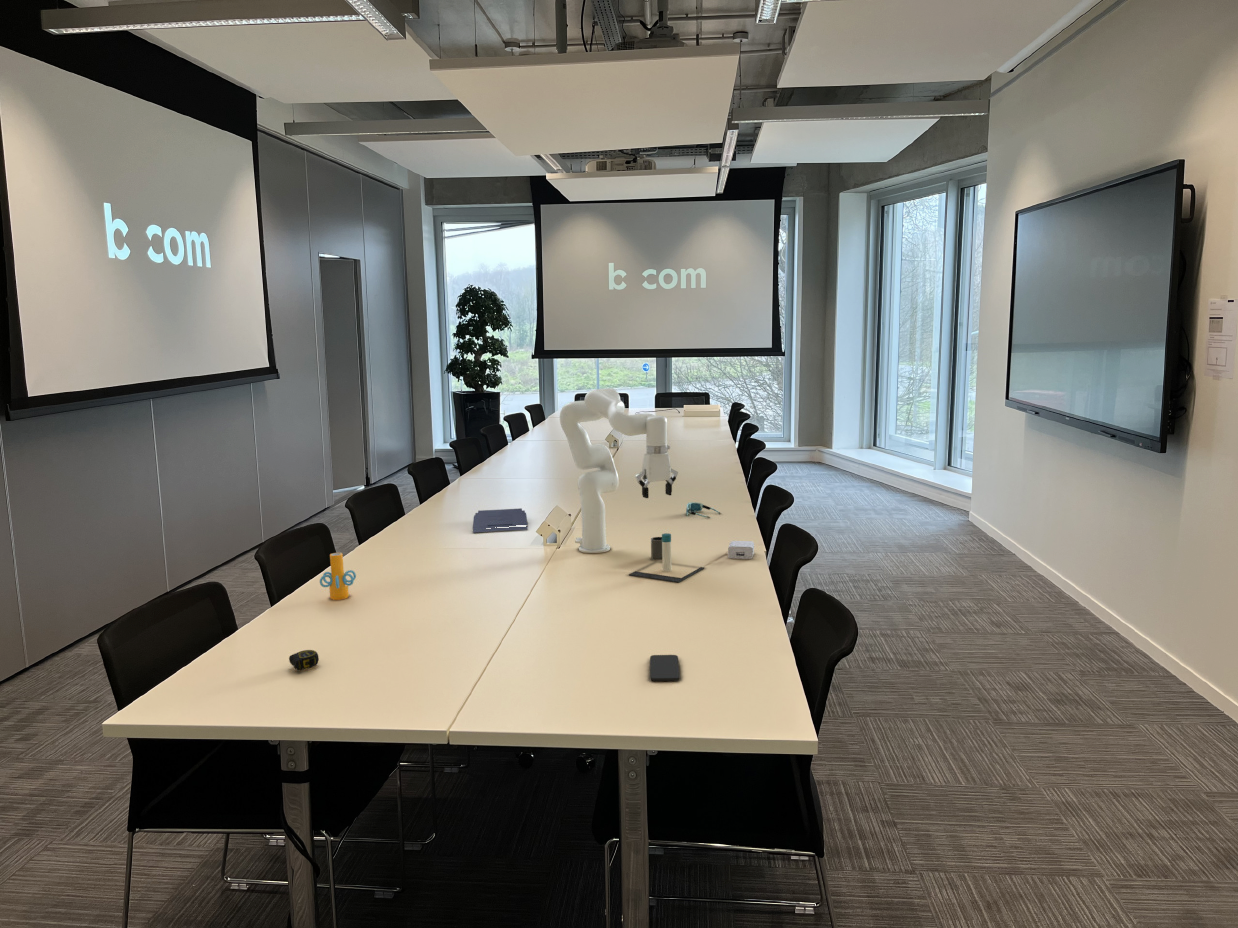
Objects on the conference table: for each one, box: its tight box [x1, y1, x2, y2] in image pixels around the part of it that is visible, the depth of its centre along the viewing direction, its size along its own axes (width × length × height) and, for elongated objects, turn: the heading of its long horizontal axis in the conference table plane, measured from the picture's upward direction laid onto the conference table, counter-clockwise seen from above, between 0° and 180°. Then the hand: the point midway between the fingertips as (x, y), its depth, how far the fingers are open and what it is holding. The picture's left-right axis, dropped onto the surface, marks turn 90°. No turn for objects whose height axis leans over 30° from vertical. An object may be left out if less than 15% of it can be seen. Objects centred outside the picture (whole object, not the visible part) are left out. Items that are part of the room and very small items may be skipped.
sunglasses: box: [685, 501, 722, 519], centre depth 399 cm, size 14×15×5 cm
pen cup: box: [650, 536, 662, 561], centre depth 323 cm, size 6×6×8 cm
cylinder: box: [319, 552, 357, 601], centre depth 285 cm, size 12×10×15 cm
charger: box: [727, 540, 755, 560], centre depth 328 cm, size 5×9×15 cm
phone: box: [649, 654, 681, 682], centre depth 218 cm, size 7×1×15 cm
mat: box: [628, 566, 705, 584], centre depth 306 cm, size 20×20×1 cm
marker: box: [661, 532, 672, 573], centre depth 305 cm, size 3×3×14 cm
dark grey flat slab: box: [472, 507, 529, 534], centre depth 389 cm, size 24×30×4 cm
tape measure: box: [288, 649, 320, 672], centre depth 226 cm, size 7×7×4 cm
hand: (657, 496), depth 311 cm, fingers open, 9 cm apart
